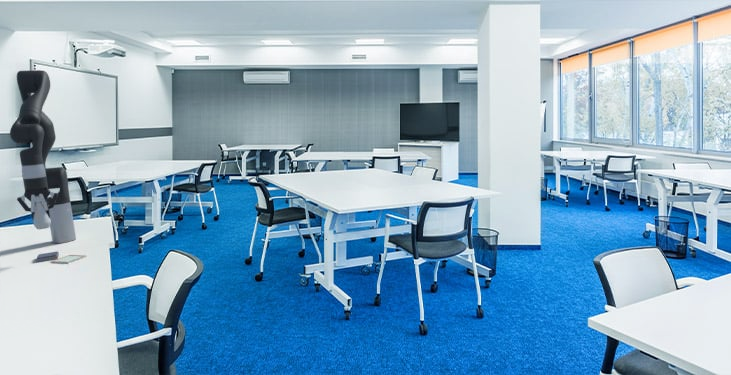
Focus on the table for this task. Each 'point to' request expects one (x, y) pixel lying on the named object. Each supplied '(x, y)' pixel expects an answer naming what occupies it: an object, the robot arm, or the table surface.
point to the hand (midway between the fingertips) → (41, 220)
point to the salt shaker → (40, 215)
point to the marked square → (68, 259)
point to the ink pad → (47, 256)
